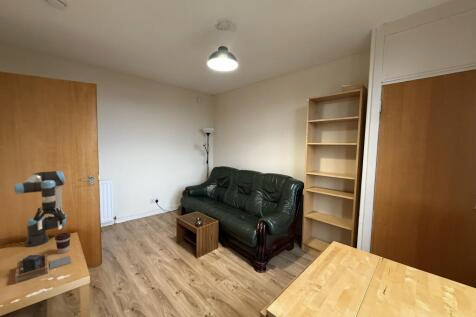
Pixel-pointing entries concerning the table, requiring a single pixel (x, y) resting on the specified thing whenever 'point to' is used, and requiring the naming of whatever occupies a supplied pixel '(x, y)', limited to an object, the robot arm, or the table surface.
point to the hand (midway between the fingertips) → (50, 229)
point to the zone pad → (60, 262)
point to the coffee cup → (63, 242)
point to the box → (32, 263)
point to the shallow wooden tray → (30, 274)
